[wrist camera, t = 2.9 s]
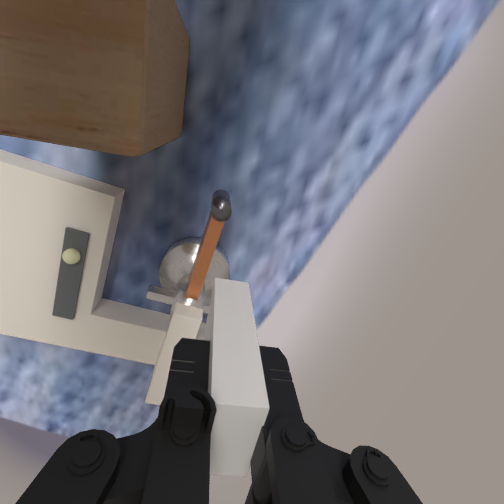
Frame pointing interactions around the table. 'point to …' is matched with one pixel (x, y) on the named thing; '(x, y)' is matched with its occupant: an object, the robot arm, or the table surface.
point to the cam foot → (195, 262)
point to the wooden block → (93, 73)
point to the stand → (75, 271)
